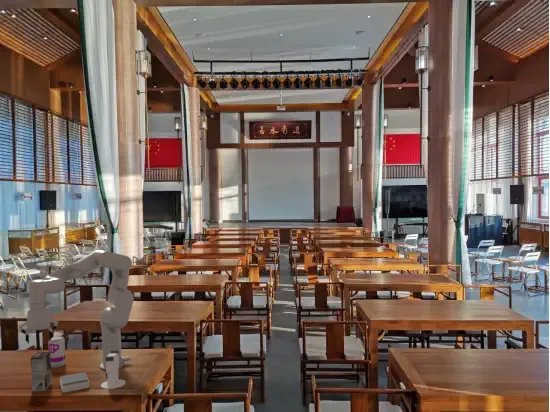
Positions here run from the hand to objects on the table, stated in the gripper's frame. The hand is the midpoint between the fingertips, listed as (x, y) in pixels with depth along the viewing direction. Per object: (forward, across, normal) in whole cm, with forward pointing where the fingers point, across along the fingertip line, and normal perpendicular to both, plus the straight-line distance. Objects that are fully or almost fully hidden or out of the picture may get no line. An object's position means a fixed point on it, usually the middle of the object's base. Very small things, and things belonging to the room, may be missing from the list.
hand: (39, 341), depth 242 cm
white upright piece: (+22, -32, +14) cm, 41 cm away
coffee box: (+23, -1, 0) cm, 23 cm away
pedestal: (+22, -15, +6) cm, 28 cm away
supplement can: (+22, -10, -31) cm, 40 cm away
